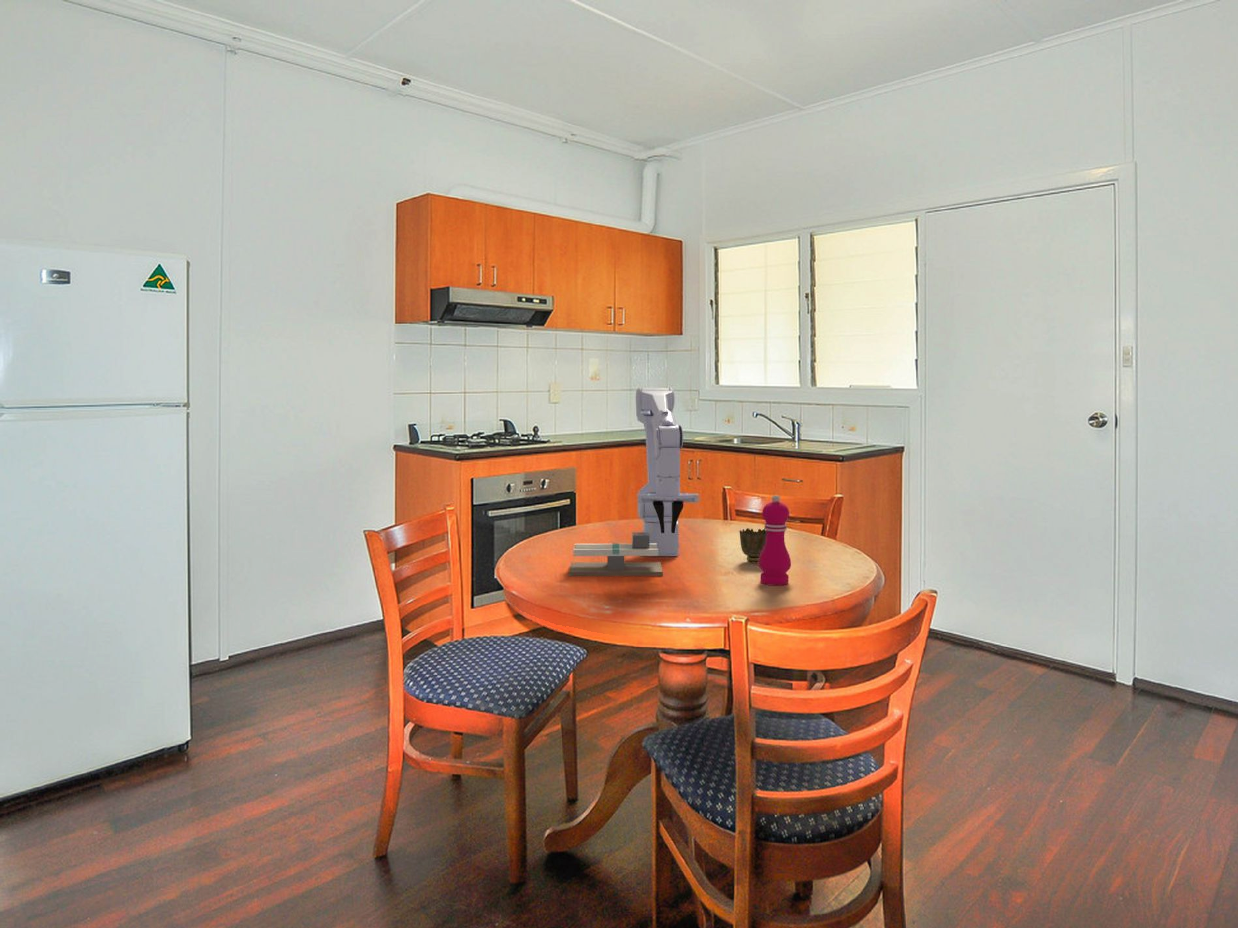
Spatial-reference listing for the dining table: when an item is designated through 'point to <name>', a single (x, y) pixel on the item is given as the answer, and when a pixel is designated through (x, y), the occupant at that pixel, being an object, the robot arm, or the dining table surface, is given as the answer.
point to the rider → (640, 540)
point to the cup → (752, 543)
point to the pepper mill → (775, 544)
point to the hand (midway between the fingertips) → (667, 532)
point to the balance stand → (615, 561)
